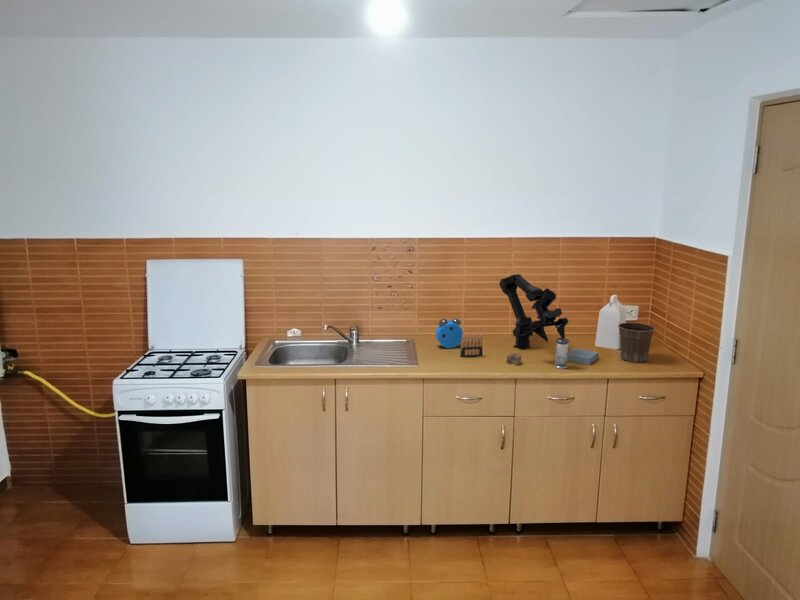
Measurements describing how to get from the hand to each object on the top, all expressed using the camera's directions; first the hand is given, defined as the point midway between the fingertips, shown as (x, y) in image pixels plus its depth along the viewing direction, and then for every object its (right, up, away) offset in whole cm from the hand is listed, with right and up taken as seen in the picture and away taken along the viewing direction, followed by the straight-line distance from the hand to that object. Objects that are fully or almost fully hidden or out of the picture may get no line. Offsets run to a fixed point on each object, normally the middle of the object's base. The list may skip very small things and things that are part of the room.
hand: (555, 340), depth 279 cm
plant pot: (+40, -10, +10) cm, 42 cm away
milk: (+36, -5, +32) cm, 48 cm away
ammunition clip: (-38, -9, +13) cm, 41 cm away
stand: (+15, -10, +9) cm, 20 cm away
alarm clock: (-47, -6, +28) cm, 55 cm away
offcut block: (-19, -11, +3) cm, 22 cm away
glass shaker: (+2, -12, -2) cm, 12 cm away
